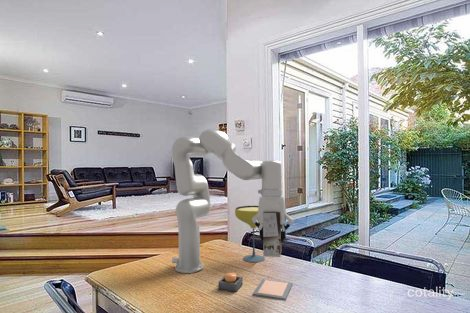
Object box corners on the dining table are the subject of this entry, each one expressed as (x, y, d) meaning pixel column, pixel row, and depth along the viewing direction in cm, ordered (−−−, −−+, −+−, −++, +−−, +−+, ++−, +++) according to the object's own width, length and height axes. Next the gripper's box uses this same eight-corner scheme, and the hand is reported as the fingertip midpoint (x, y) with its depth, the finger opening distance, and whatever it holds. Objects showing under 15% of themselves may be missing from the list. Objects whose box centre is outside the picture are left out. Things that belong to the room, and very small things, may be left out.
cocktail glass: (231, 255, 154) (230, 206, 155) (263, 251, 160) (262, 204, 160) (242, 267, 137) (241, 212, 137) (278, 262, 142) (277, 209, 143)
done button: (223, 283, 114) (223, 276, 114) (227, 279, 118) (227, 272, 118) (234, 285, 112) (233, 277, 112) (237, 280, 116) (237, 273, 116)
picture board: (252, 295, 108) (252, 293, 108) (262, 280, 121) (262, 278, 121) (285, 300, 104) (285, 298, 104) (292, 284, 117) (292, 282, 117)
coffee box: (280, 257, 107) (280, 212, 108) (263, 256, 109) (262, 212, 109) (282, 250, 116) (281, 208, 117) (265, 249, 118) (264, 208, 118)
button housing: (218, 289, 113) (218, 281, 113) (225, 282, 120) (225, 274, 120) (236, 292, 110) (236, 284, 110) (242, 284, 117) (242, 277, 117)
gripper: (246, 193, 112) (247, 241, 112) (293, 194, 106) (294, 245, 106) (252, 191, 119) (253, 236, 119) (296, 192, 114) (297, 239, 113)
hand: (272, 240), depth 113 cm, fingers closed on coffee box, 7 cm apart
